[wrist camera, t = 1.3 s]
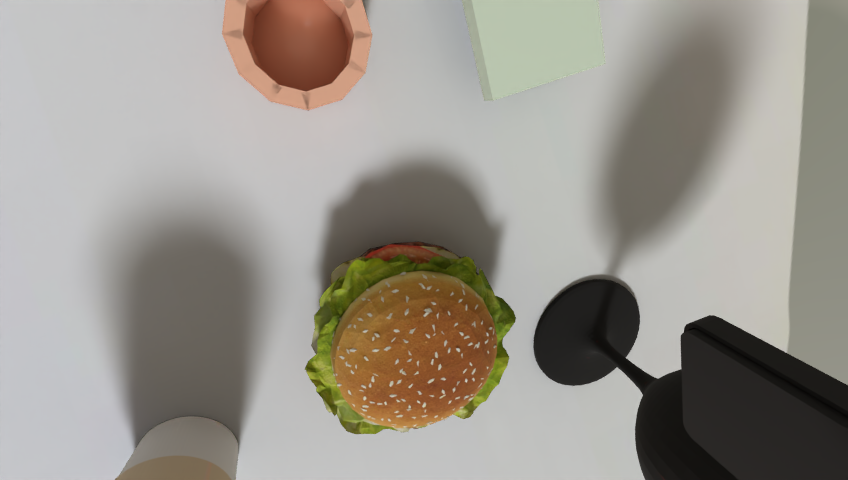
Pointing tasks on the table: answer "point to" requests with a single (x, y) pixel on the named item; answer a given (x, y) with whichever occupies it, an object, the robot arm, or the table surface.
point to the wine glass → (607, 349)
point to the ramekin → (298, 47)
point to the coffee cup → (184, 452)
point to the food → (407, 339)
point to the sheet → (532, 42)
